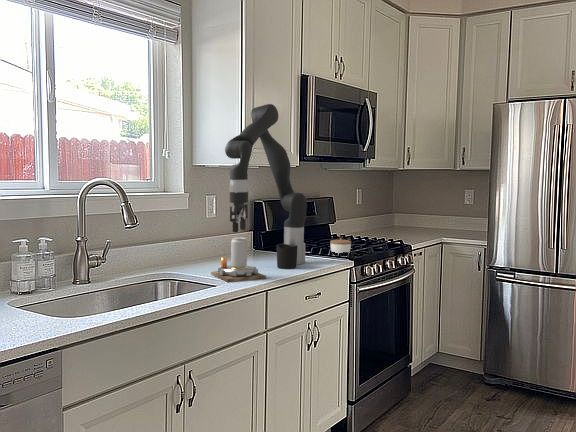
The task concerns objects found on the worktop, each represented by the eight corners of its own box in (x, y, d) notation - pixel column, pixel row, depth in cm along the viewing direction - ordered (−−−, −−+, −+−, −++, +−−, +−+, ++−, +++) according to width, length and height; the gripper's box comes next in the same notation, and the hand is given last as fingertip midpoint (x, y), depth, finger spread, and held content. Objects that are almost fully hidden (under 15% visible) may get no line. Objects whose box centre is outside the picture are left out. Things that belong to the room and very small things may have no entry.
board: (248, 271, 237) (248, 268, 237) (266, 278, 222) (266, 275, 222) (210, 274, 229) (210, 271, 228) (226, 282, 214) (226, 279, 214)
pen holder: (293, 265, 254) (293, 243, 253) (300, 268, 245) (300, 246, 244) (273, 266, 251) (274, 244, 250) (279, 269, 242) (280, 247, 241)
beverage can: (233, 268, 221) (233, 239, 220) (229, 266, 227) (229, 237, 226) (248, 268, 223) (248, 238, 222) (244, 265, 229) (244, 236, 228)
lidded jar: (326, 254, 286) (326, 237, 285) (343, 253, 291) (343, 236, 290) (337, 258, 277) (337, 239, 276) (354, 256, 282) (355, 238, 281)
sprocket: (223, 268, 234) (223, 254, 234) (261, 270, 232) (261, 256, 232) (213, 275, 218) (213, 260, 218) (253, 277, 216) (253, 262, 216)
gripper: (236, 189, 230) (236, 228, 231) (223, 191, 216) (223, 232, 218) (253, 190, 228) (253, 229, 229) (241, 191, 214) (241, 233, 216)
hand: (239, 230), depth 223 cm, fingers open, 8 cm apart
